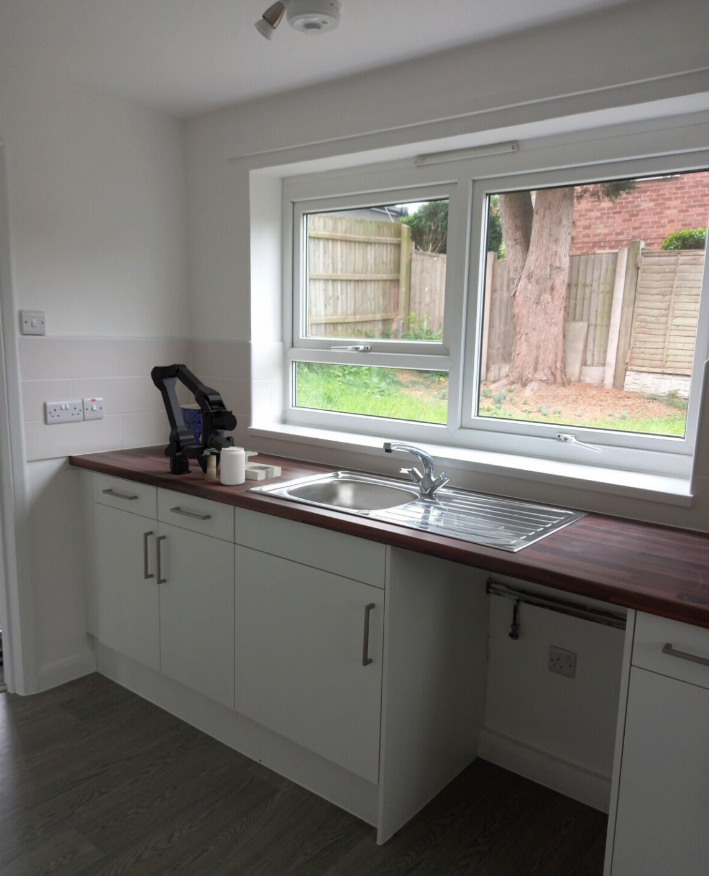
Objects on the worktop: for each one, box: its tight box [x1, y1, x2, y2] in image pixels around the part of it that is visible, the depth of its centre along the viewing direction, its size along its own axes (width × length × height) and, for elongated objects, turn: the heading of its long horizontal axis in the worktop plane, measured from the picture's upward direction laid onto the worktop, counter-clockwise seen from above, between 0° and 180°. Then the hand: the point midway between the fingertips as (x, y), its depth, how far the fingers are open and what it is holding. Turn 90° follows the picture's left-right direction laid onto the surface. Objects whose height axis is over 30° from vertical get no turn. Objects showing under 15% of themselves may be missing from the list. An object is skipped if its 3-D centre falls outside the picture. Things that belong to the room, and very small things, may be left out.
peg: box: [203, 455, 217, 481], centre depth 236 cm, size 4×4×8 cm
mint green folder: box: [244, 450, 258, 462], centre depth 249 cm, size 6×10×7 cm, turn 144°
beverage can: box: [219, 446, 246, 486], centre depth 229 cm, size 8×8×12 cm
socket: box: [245, 461, 282, 482], centre depth 244 cm, size 17×12×3 cm
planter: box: [179, 403, 226, 459], centre depth 279 cm, size 18×18×21 cm
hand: (209, 473), depth 236 cm, fingers closed on peg, 4 cm apart
